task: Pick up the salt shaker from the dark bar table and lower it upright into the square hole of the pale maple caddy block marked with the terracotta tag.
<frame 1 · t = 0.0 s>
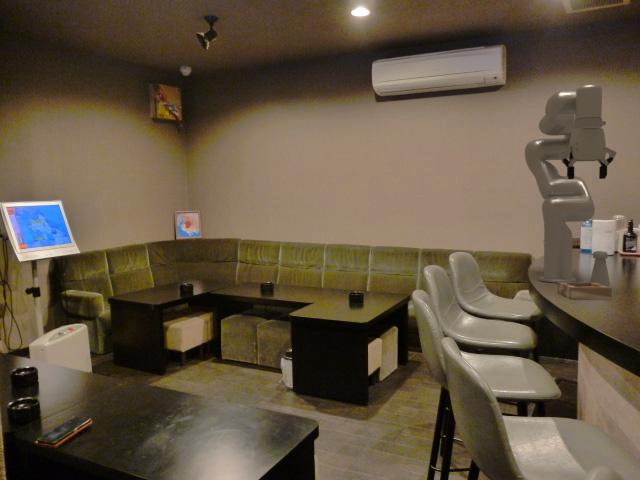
hand: (586, 178, 163), 37 cm above the bar counter, tool pointing down, fingers open, 9 cm apart
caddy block: (583, 296, 158), on the bar counter
salt shaker: (599, 290, 168), on the bar counter
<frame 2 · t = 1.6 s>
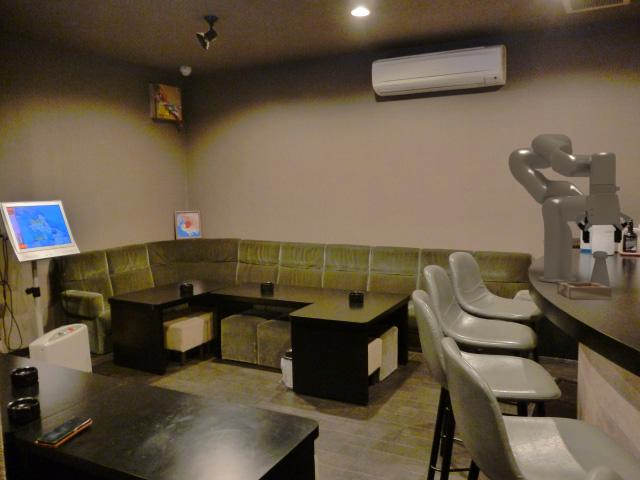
hand: (601, 242, 166), 16 cm above the bar counter, tool pointing down, fingers open, 9 cm apart
nothing on the bar counter moved.
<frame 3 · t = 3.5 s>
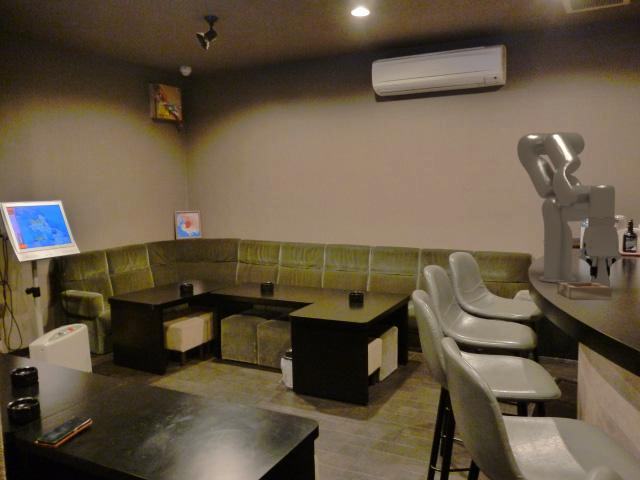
hand: (599, 277, 168), 4 cm above the bar counter, tool pointing down, fingers closed on salt shaker, 3 cm apart
salt shaker: (600, 290, 168), on the bar counter, touching gripper
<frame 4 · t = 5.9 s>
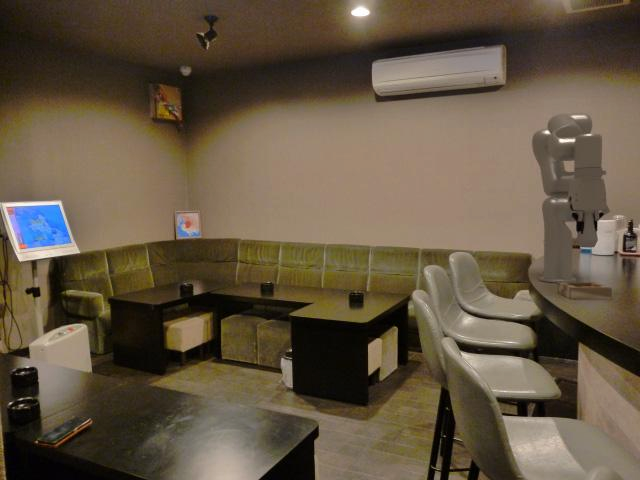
hand: (586, 233, 157), 20 cm above the bar counter, tool pointing down, fingers closed on salt shaker, 3 cm apart
salt shaker: (586, 247, 157), point 15 cm above the bar counter, touching gripper
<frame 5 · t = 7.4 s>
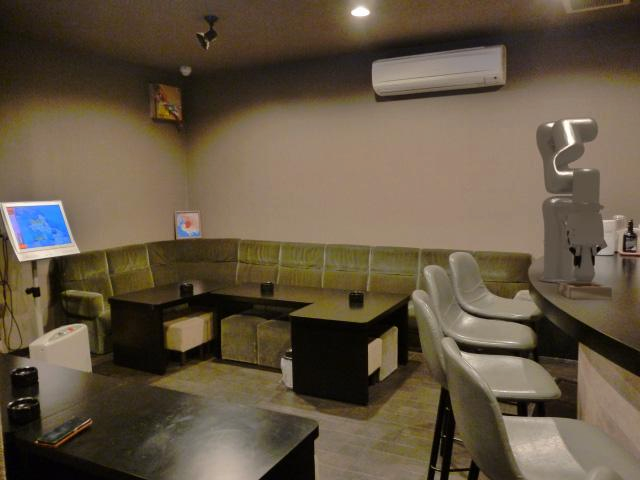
hand: (584, 267, 157), 9 cm above the bar counter, tool pointing down, fingers closed on salt shaker, 3 cm apart
salt shaker: (584, 281, 158), point 5 cm above the bar counter, touching gripper
when the fingers open (5 cm above the bar counter, at t = 8.4 s): salt shaker stays where it is, resting in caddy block.
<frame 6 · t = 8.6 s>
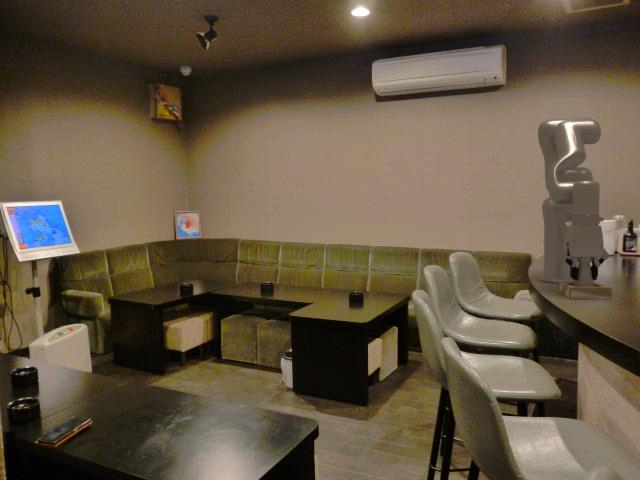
hand: (583, 278, 158), 5 cm above the bar counter, tool pointing down, fingers open, 4 cm apart
salt shaker: (583, 296, 158), resting in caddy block
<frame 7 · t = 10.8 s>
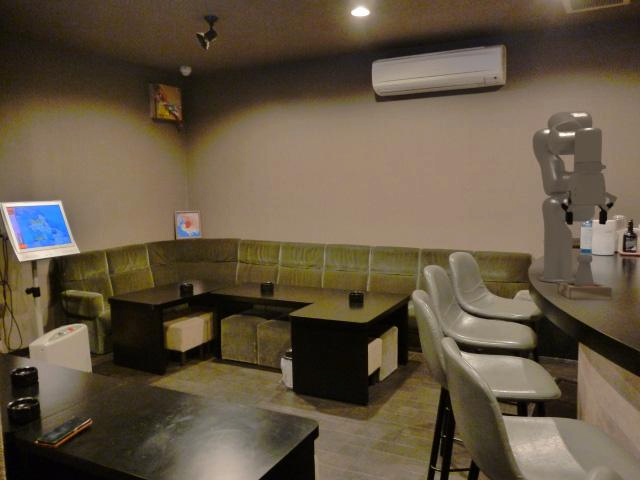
hand: (585, 224, 157), 22 cm above the bar counter, tool pointing down, fingers open, 9 cm apart
nothing on the bar counter moved.
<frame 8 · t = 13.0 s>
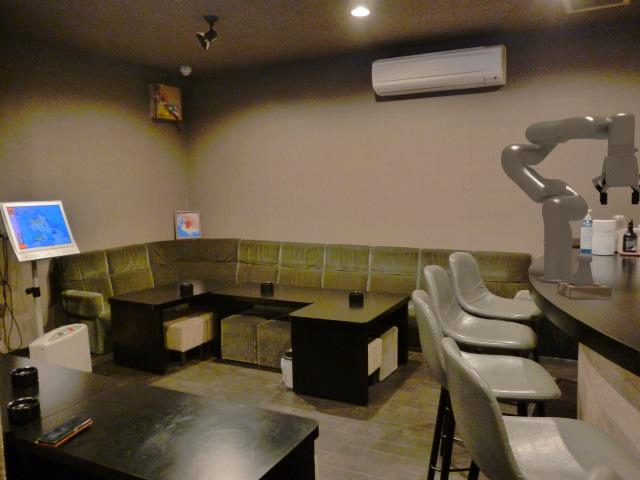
hand: (619, 204, 167), 28 cm above the bar counter, tool pointing down, fingers open, 9 cm apart
nothing on the bar counter moved.
at the end: salt shaker 0.1 cm off-centre on the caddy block, point 0.0 cm above the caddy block's base; salt shaker tilted 0°; the gripper is holding nothing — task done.
